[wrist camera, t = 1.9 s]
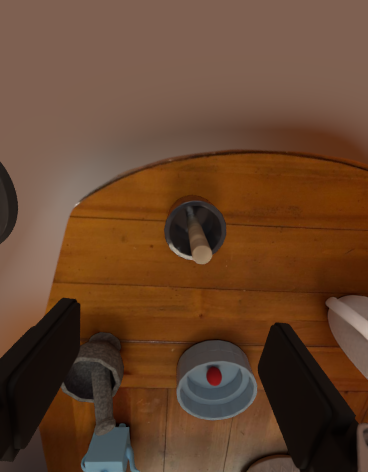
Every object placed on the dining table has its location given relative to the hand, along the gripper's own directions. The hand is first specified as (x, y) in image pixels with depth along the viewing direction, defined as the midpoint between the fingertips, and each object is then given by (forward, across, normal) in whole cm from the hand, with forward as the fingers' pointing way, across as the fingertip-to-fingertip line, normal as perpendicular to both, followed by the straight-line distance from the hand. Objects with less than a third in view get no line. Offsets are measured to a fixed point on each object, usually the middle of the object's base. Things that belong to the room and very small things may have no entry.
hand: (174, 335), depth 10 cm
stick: (+22, -2, -1) cm, 23 cm away
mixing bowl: (+23, -11, +28) cm, 38 cm away
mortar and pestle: (+23, +10, +26) cm, 36 cm away
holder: (+23, -2, -1) cm, 23 cm away
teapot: (+23, +6, +49) cm, 55 cm away
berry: (+21, -11, +28) cm, 37 cm away
